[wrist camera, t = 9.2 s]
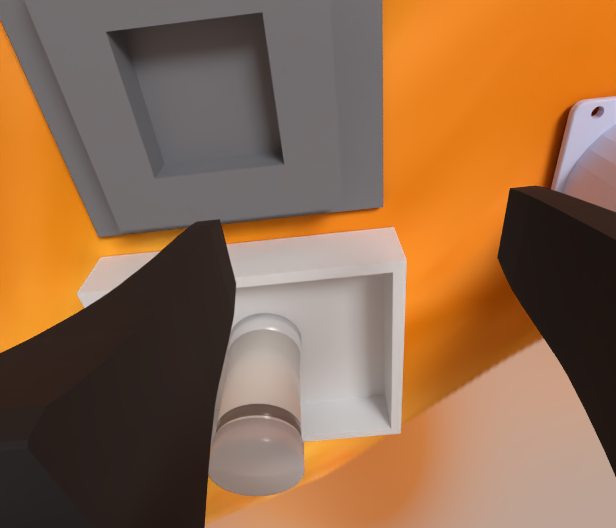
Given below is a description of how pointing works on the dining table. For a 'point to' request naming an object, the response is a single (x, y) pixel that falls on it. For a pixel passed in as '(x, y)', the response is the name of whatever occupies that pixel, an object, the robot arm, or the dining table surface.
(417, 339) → the dining table surface
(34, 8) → the socket block
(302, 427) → the parts tray
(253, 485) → the cylinder
